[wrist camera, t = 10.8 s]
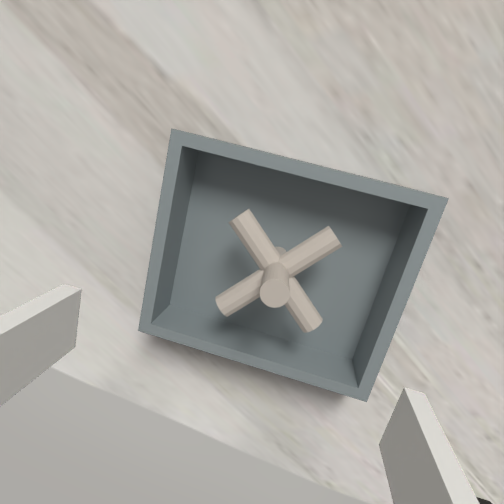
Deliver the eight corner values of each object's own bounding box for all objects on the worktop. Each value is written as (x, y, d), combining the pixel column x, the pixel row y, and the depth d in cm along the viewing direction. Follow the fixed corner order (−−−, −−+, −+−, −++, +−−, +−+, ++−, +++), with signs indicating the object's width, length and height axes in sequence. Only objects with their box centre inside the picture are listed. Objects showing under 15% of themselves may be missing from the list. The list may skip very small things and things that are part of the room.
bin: (161, 307, 35) (138, 330, 30) (193, 133, 30) (171, 128, 25) (358, 367, 33) (366, 402, 28) (425, 192, 28) (448, 198, 24)
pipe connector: (356, 273, 30) (390, 318, 21) (262, 329, 32) (252, 394, 23) (294, 176, 29) (300, 175, 19) (200, 240, 31) (161, 269, 21)
